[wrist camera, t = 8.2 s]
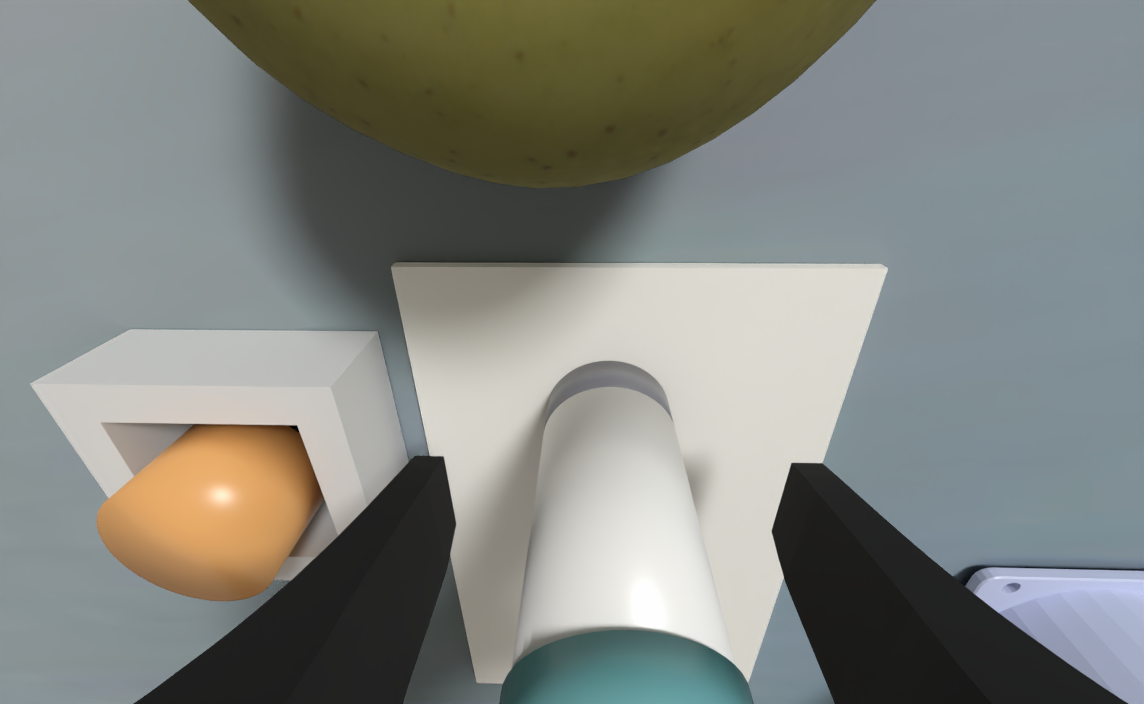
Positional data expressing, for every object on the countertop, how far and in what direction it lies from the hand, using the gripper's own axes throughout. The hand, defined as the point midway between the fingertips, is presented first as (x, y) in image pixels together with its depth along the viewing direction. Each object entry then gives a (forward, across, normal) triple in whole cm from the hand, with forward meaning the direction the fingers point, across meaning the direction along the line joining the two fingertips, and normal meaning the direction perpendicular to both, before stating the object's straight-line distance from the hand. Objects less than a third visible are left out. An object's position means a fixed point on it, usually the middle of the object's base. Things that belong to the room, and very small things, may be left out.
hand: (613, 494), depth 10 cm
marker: (+3, 0, 0) cm, 3 cm away
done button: (+2, +9, +1) cm, 9 cm away
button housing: (+3, +9, +1) cm, 10 cm away
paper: (+3, 0, +5) cm, 6 cm away
